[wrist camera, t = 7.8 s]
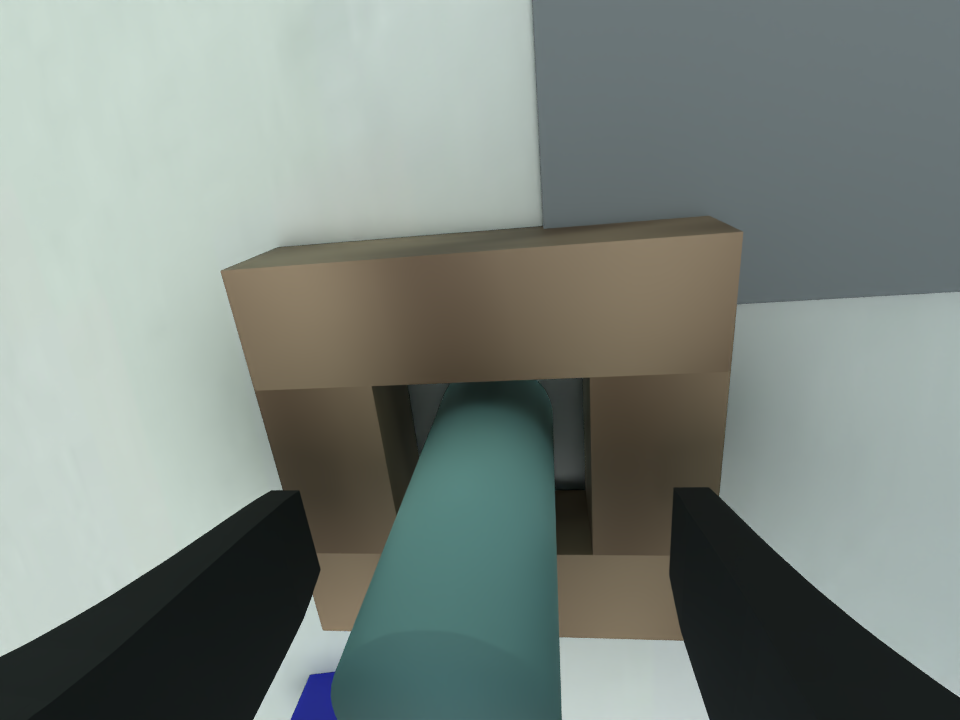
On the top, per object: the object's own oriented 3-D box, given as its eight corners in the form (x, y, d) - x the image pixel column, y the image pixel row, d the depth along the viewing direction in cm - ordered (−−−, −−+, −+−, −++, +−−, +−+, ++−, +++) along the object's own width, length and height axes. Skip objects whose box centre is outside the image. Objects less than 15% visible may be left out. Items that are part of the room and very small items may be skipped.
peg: (553, 363, 13) (564, 638, 6) (551, 464, 14) (559, 796, 7) (437, 363, 14) (313, 621, 6) (444, 461, 15) (347, 775, 8)
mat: (1379, -426, 7) (1423, -456, 7) (1119, 276, 11) (1139, 281, 11) (520, -249, 9) (518, -265, 9) (547, 309, 13) (547, 314, 12)
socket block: (703, 213, 12) (743, 231, 9) (681, 566, 15) (705, 641, 13) (277, 247, 13) (220, 270, 11) (353, 563, 17) (322, 630, 14)
